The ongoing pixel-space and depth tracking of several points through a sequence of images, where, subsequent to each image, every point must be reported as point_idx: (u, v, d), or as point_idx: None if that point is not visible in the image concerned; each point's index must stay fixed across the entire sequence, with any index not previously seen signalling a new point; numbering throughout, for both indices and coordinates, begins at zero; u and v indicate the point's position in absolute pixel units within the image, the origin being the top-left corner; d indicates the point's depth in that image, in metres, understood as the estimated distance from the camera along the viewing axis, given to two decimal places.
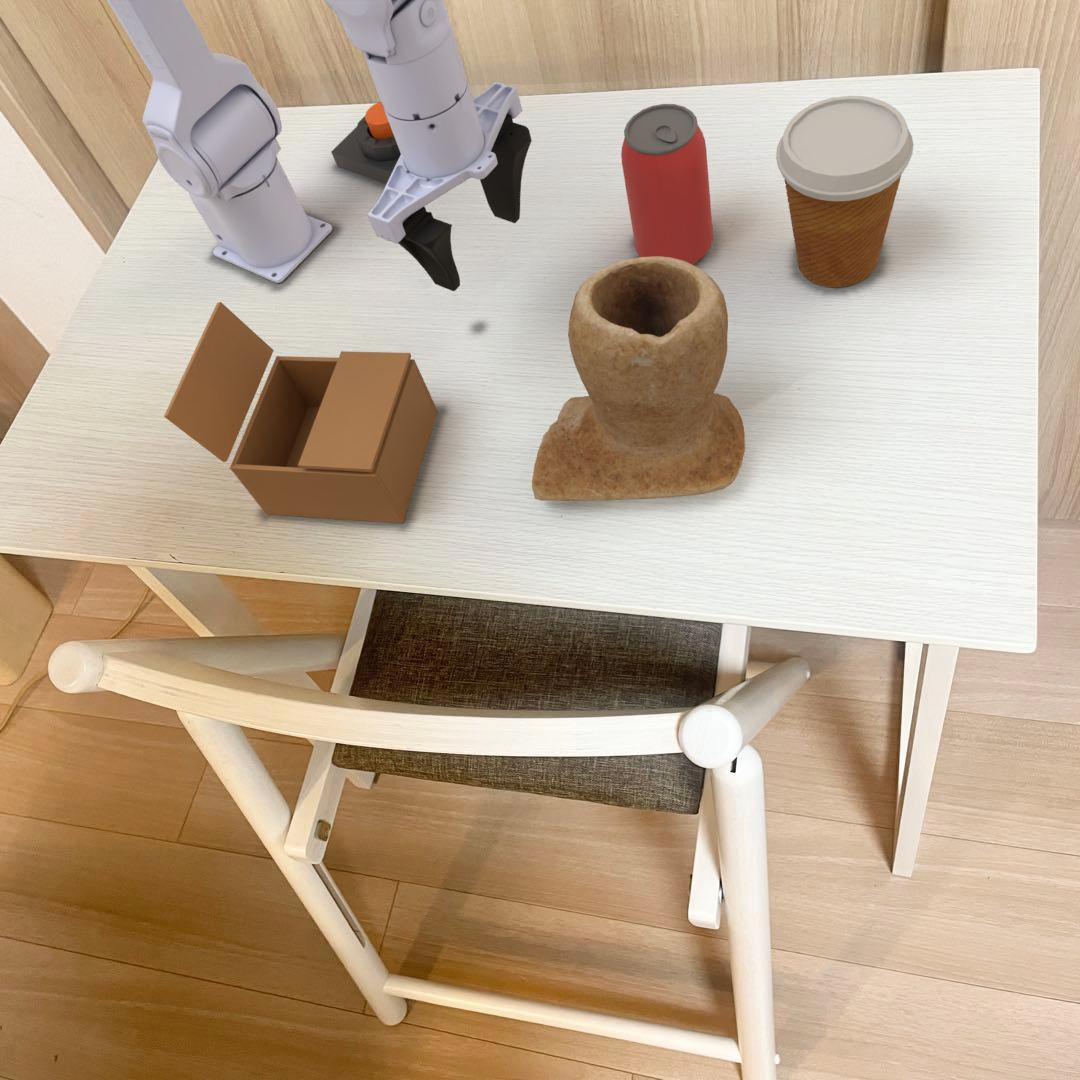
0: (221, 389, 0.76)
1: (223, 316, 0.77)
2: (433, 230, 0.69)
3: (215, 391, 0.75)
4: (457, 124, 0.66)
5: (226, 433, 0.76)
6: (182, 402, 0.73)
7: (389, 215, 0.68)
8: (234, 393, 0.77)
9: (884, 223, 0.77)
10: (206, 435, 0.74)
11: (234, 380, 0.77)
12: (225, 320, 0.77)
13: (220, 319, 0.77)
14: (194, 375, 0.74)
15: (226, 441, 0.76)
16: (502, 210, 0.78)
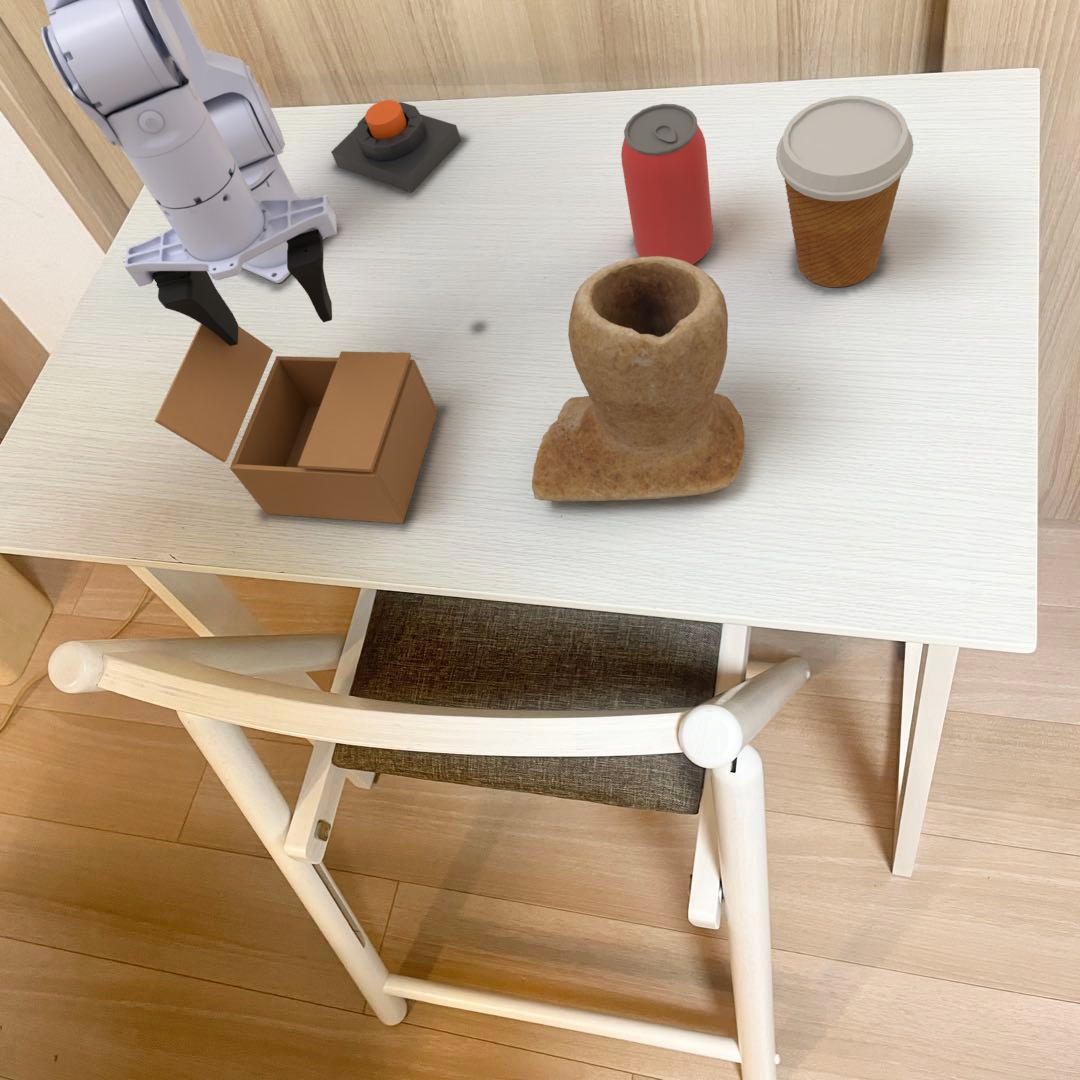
0: (216, 391, 0.76)
1: None
2: (174, 293, 0.71)
3: (209, 393, 0.76)
4: (191, 224, 0.66)
5: (224, 433, 0.76)
6: (173, 406, 0.73)
7: (139, 260, 0.71)
8: (231, 394, 0.77)
9: (884, 223, 0.77)
10: (201, 436, 0.75)
11: (230, 381, 0.77)
12: None
13: None
14: (185, 379, 0.75)
15: (224, 441, 0.76)
16: None
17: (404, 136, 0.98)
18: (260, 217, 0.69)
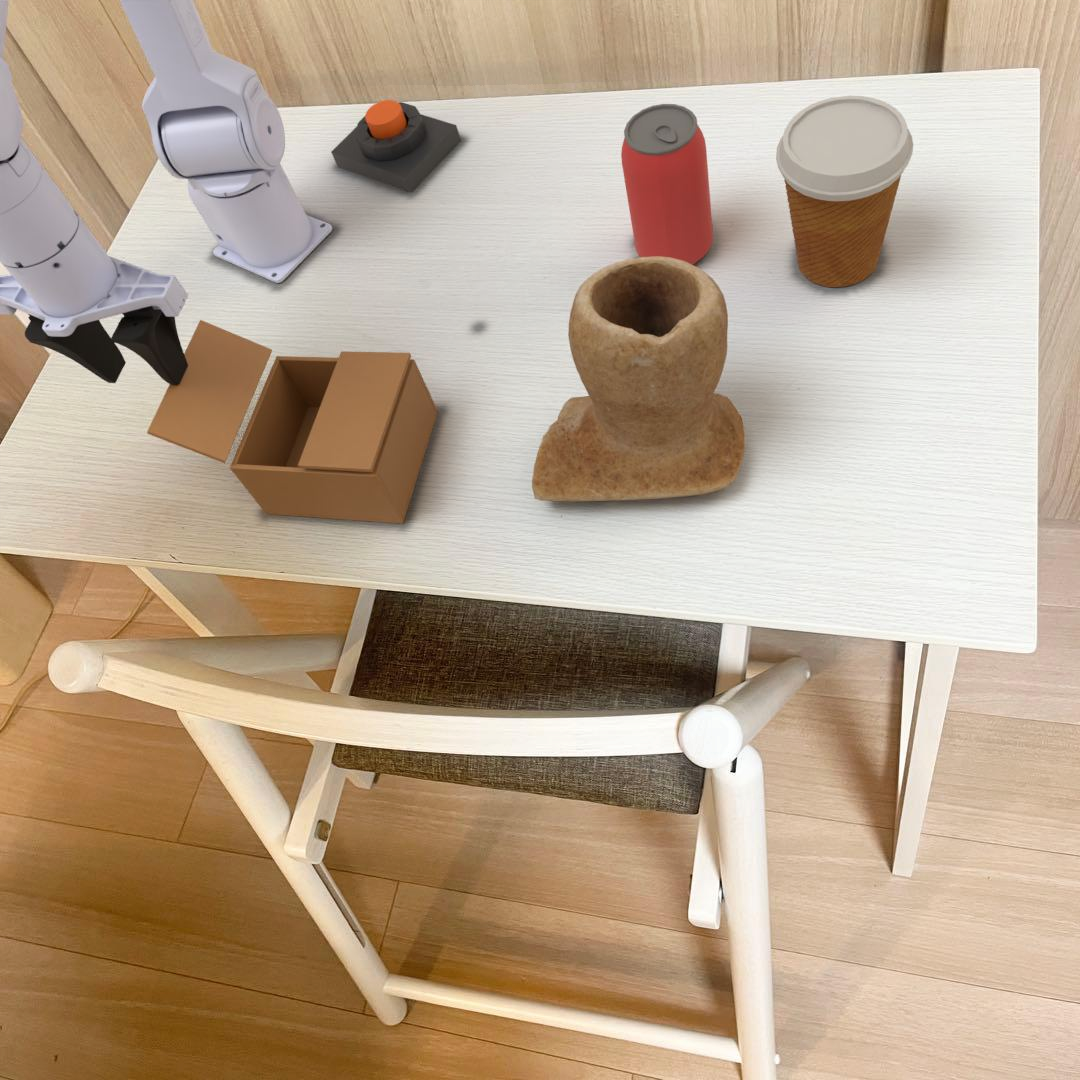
0: (210, 396, 0.77)
1: (205, 331, 0.79)
2: (39, 331, 0.72)
3: (203, 399, 0.77)
4: (23, 282, 0.66)
5: (221, 435, 0.76)
6: (164, 416, 0.75)
7: (2, 291, 0.72)
8: (227, 397, 0.78)
9: (884, 223, 0.77)
10: (196, 441, 0.75)
11: (225, 385, 0.78)
12: (208, 334, 0.79)
13: (202, 335, 0.79)
14: (176, 390, 0.76)
15: (222, 442, 0.76)
16: None
17: (404, 136, 0.98)
18: (106, 284, 0.68)
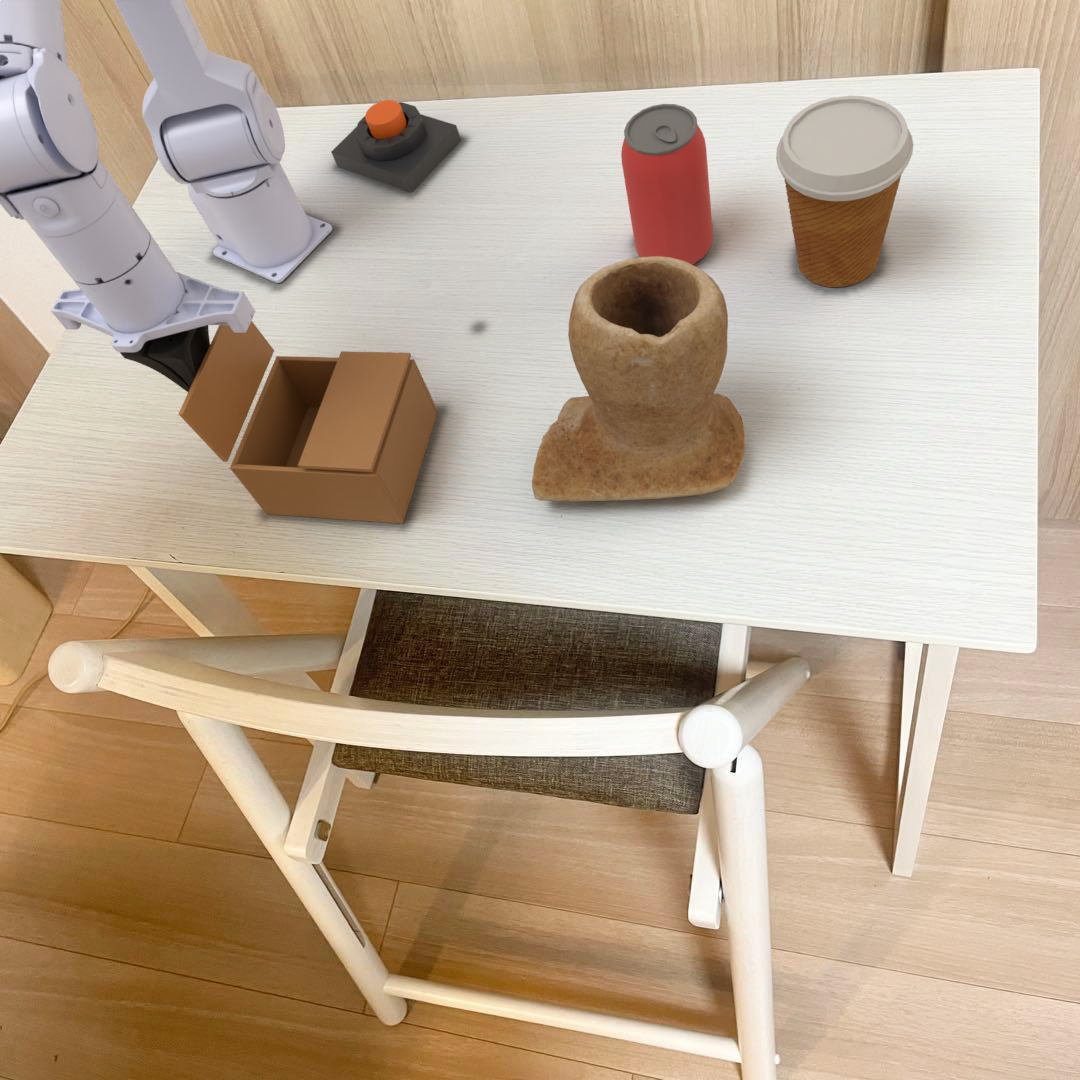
0: (229, 388, 0.76)
1: None
2: None
3: (224, 390, 0.75)
4: (94, 298, 0.66)
5: (229, 433, 0.76)
6: (196, 401, 0.72)
7: (67, 306, 0.72)
8: (239, 393, 0.77)
9: (884, 223, 0.77)
10: (213, 435, 0.74)
11: (240, 380, 0.77)
12: None
13: None
14: (208, 373, 0.73)
15: (228, 441, 0.76)
16: None
17: (404, 136, 0.98)
18: (175, 300, 0.68)
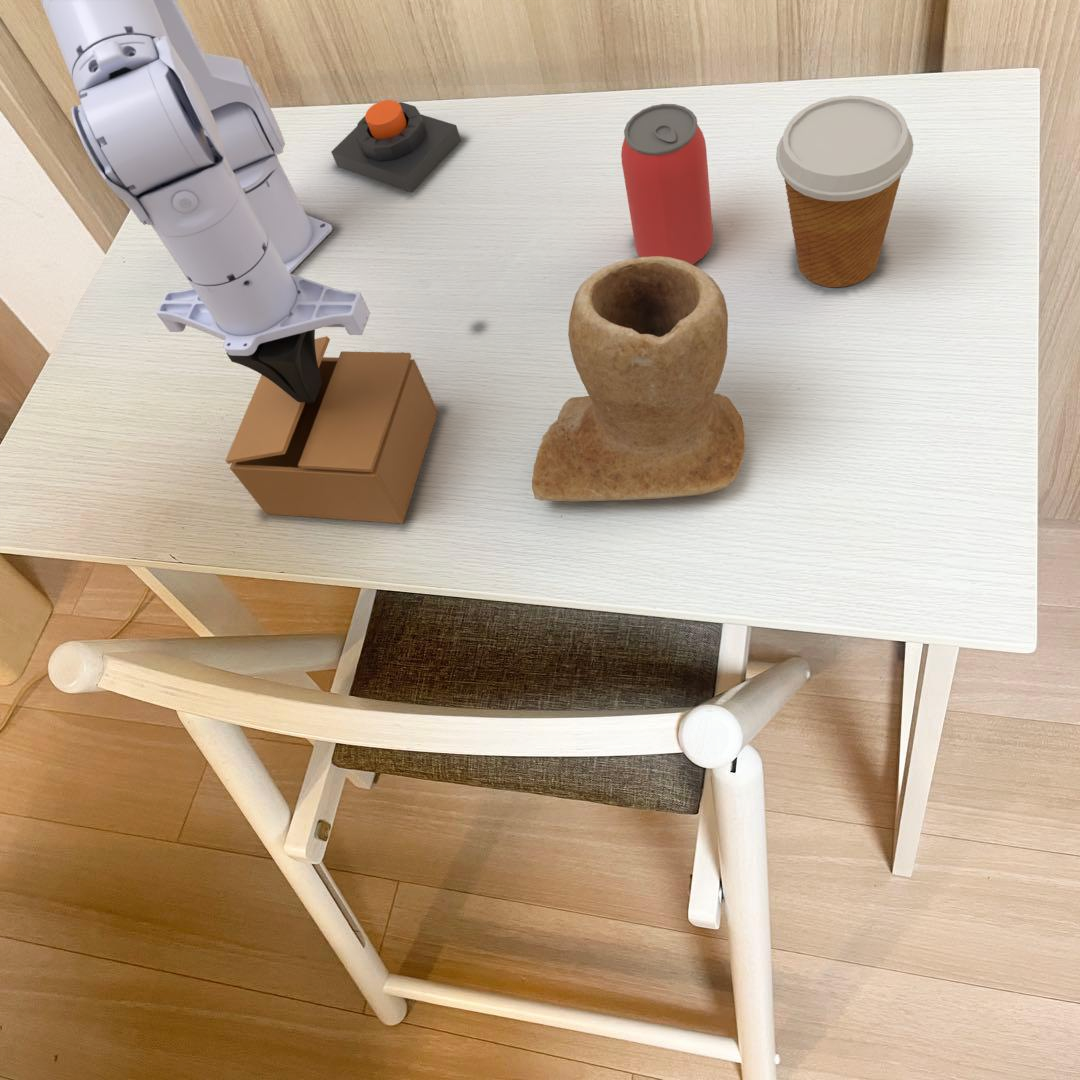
0: None
1: None
2: None
3: None
4: (210, 300, 0.64)
5: None
6: None
7: (173, 308, 0.69)
8: None
9: (884, 223, 0.77)
10: None
11: None
12: None
13: None
14: None
15: None
16: None
17: (404, 136, 0.98)
18: (289, 301, 0.66)
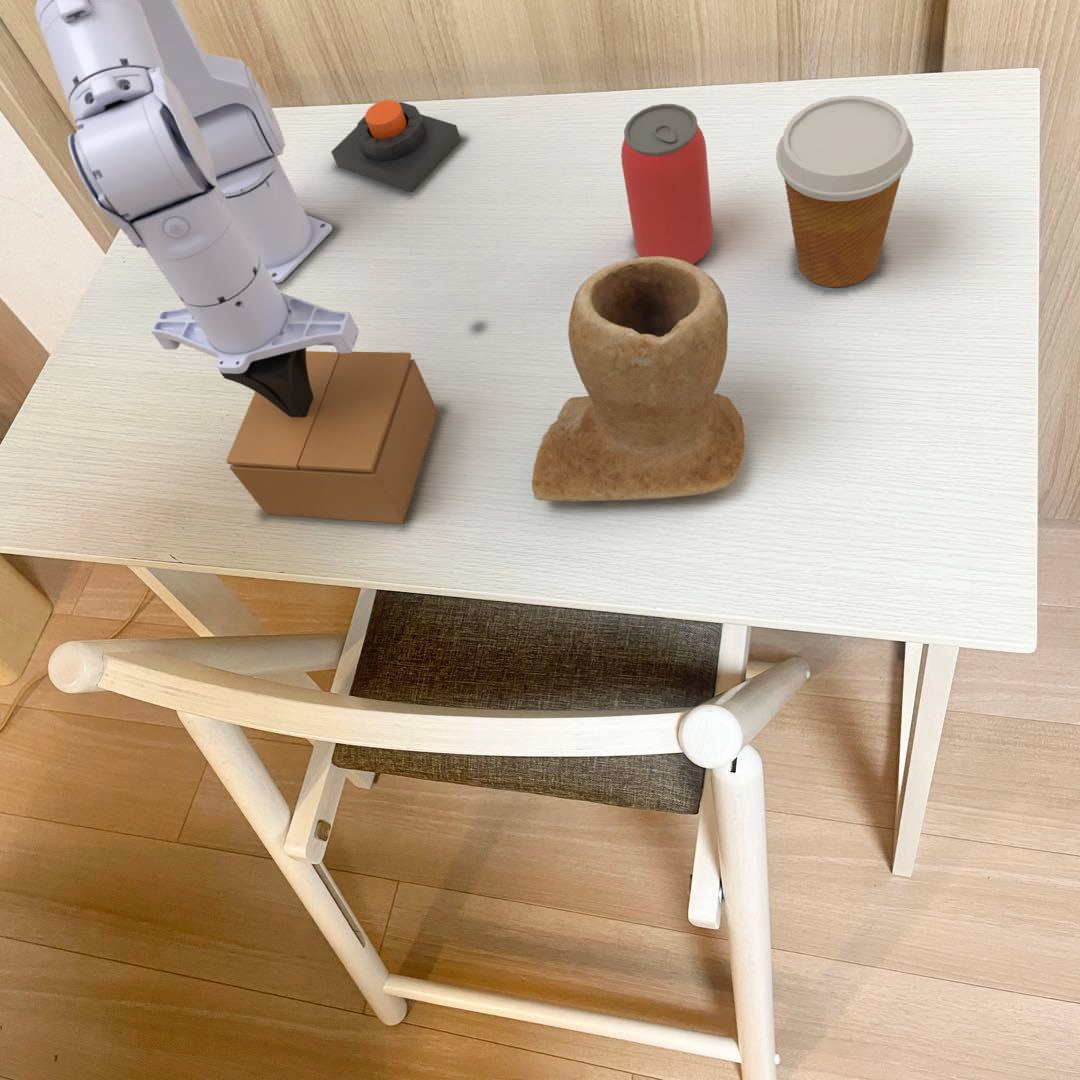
0: None
1: None
2: None
3: None
4: (202, 320, 0.66)
5: None
6: None
7: (167, 326, 0.71)
8: None
9: (884, 223, 0.77)
10: None
11: None
12: None
13: None
14: None
15: None
16: None
17: (404, 136, 0.98)
18: (280, 320, 0.68)
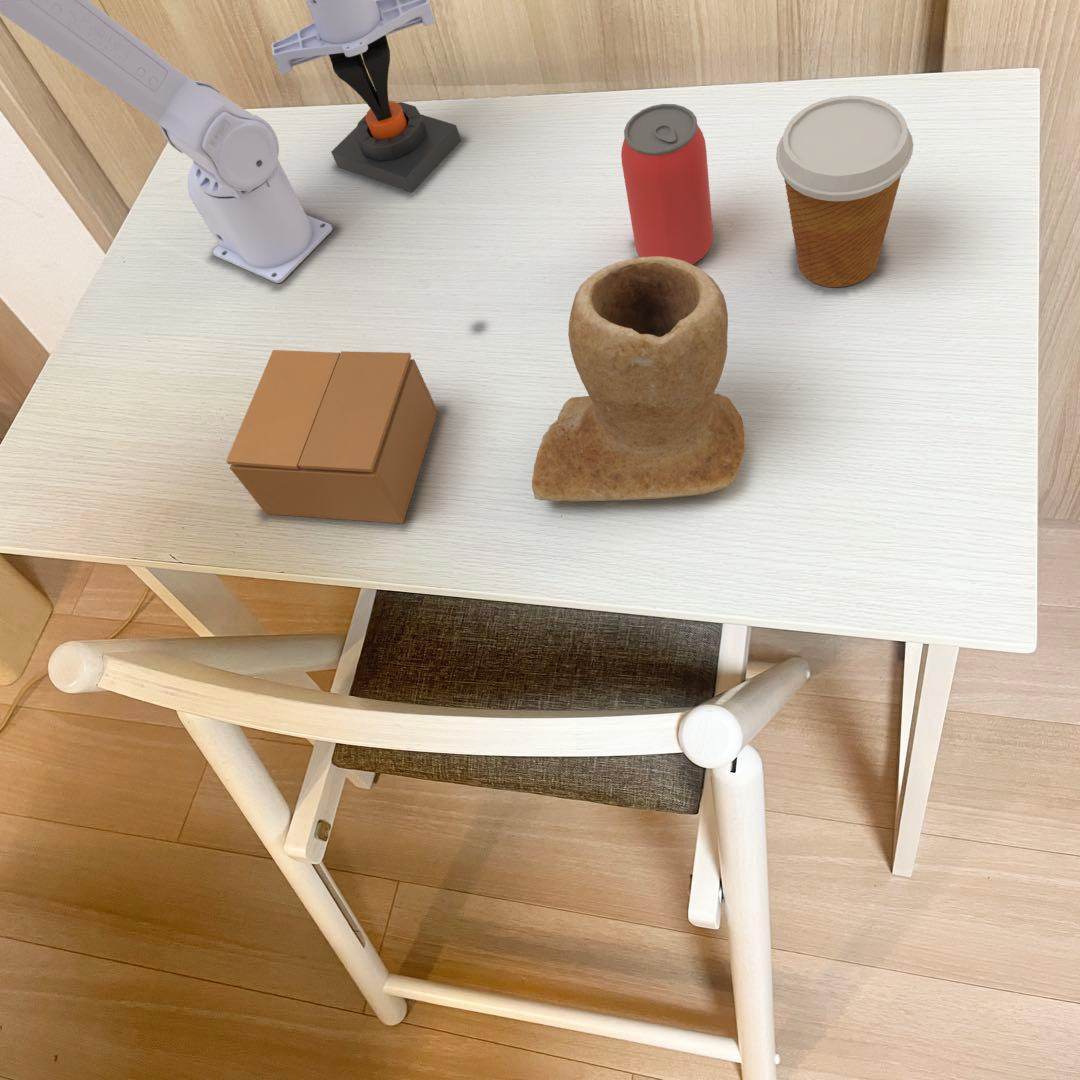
0: None
1: None
2: (347, 65, 0.91)
3: None
4: (332, 8, 0.86)
5: None
6: None
7: (282, 51, 0.91)
8: None
9: (884, 223, 0.77)
10: None
11: None
12: None
13: None
14: None
15: None
16: None
17: (404, 136, 0.98)
18: (378, 9, 0.90)
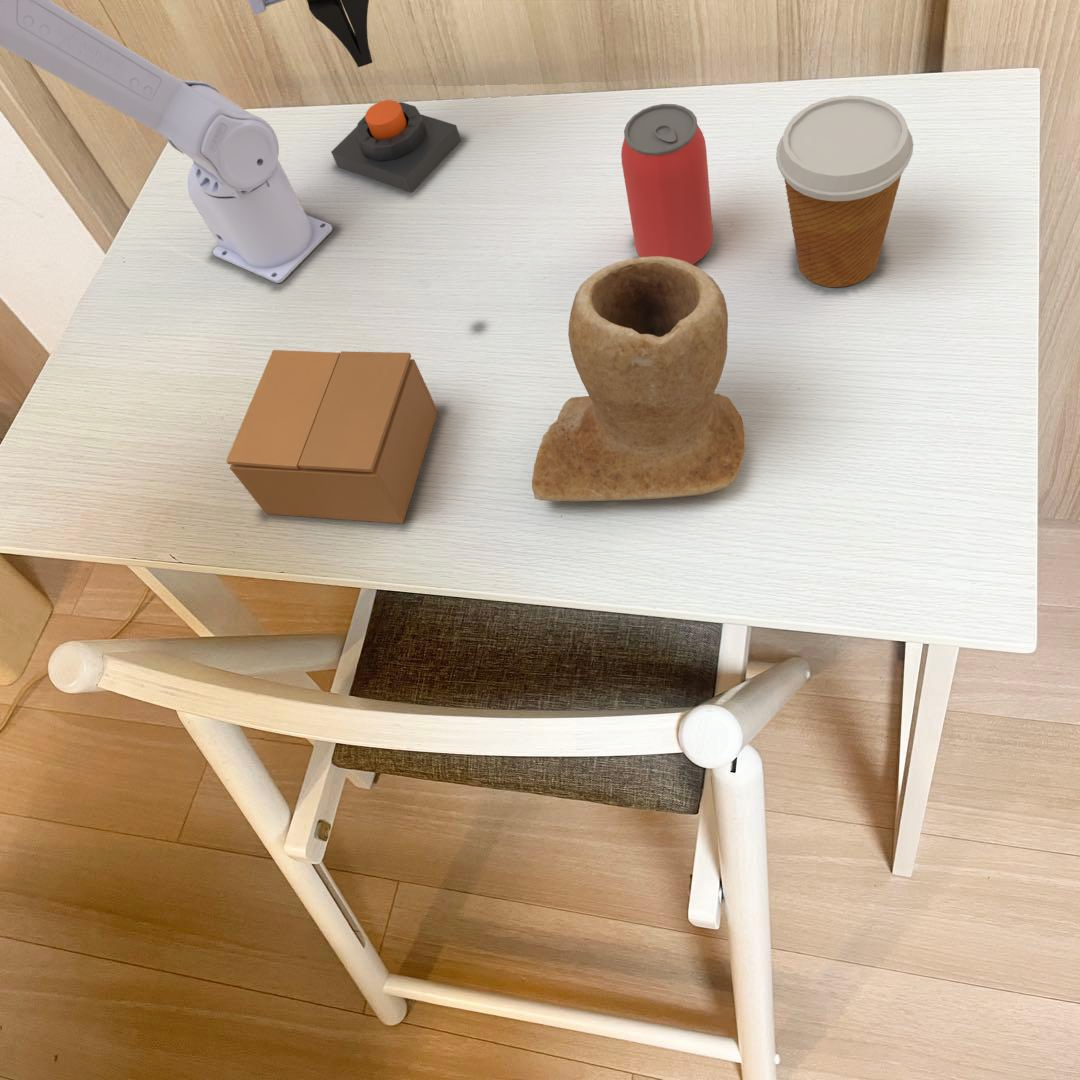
0: None
1: None
2: (323, 4, 0.87)
3: None
4: None
5: None
6: None
7: None
8: None
9: (884, 223, 0.77)
10: None
11: None
12: None
13: None
14: None
15: None
16: None
17: (404, 136, 0.98)
18: None
